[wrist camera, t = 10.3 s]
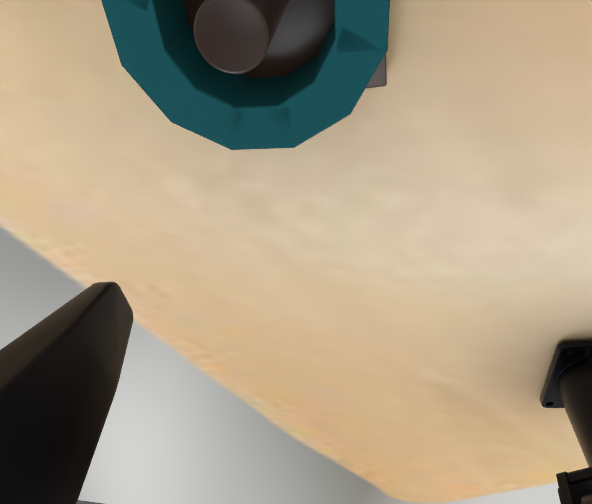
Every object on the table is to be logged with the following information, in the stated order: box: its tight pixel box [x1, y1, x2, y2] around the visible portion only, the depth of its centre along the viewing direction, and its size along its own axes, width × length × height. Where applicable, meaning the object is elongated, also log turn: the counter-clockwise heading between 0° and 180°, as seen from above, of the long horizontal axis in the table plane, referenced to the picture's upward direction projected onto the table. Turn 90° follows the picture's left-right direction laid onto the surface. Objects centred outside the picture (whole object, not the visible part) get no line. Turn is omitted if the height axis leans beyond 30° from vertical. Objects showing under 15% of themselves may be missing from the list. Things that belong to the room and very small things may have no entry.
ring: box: [102, 0, 390, 150], centre depth 15 cm, size 9×9×3 cm
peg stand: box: [184, 0, 387, 88], centre depth 14 cm, size 8×8×8 cm
